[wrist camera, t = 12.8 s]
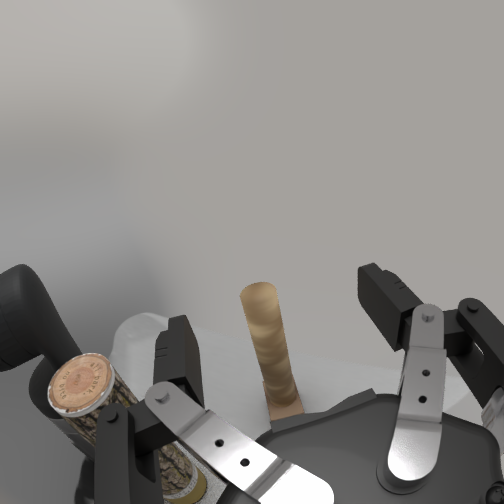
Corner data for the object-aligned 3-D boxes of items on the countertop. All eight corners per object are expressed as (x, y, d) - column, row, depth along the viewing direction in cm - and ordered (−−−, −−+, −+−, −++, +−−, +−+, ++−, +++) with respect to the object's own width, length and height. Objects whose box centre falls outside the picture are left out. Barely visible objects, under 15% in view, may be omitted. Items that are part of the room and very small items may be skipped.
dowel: (271, 410, 37) (242, 307, 29) (267, 389, 40) (238, 287, 32) (298, 403, 37) (279, 298, 29) (292, 383, 41) (272, 278, 32)
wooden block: (306, 428, 38) (304, 412, 36) (276, 436, 38) (270, 420, 36) (295, 392, 45) (292, 373, 42) (268, 399, 44) (262, 381, 42)
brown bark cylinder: (207, 464, 36) (119, 349, 24) (209, 506, 30) (102, 414, 18) (163, 467, 36) (61, 356, 24) (161, 506, 30) (38, 412, 18)
